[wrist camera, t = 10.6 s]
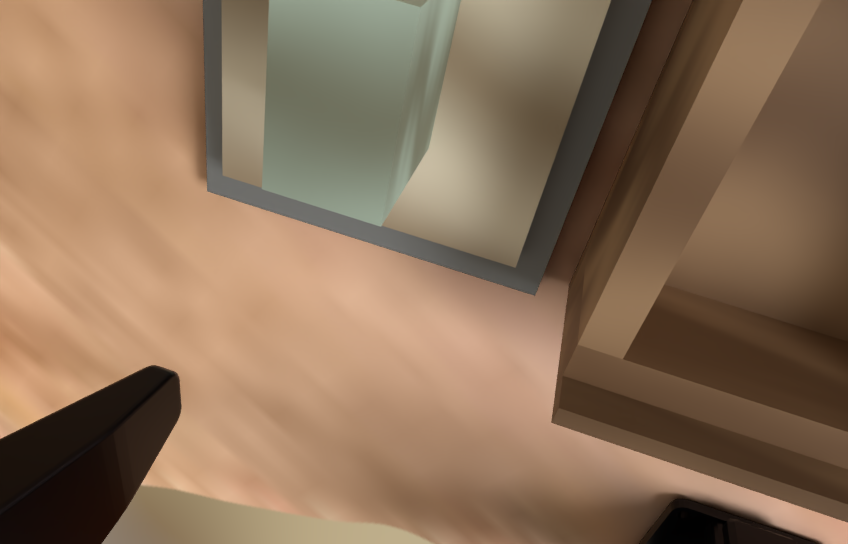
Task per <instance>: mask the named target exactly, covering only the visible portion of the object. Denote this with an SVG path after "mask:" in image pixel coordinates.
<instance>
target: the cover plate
mask: <svg viewBox="0 0 848 544" xmlns="http://www.w3.org/2000/svg"><path fill="white" fill-rule="evenodd" d="M610 2H611V0H222V167H223V176H226V177H229V178H232V179H236V180H239V181H242V182H245V183H248V184H251V185H255V186H258V187H261V188H262V189H263V190H266V191H269V192H272V193H275V194H279V195H282V196H285V197H288V198H291V199H294V200H298V201H301V202H304V203H307V204H310V205H313V206H317V207H320V208H323V209H326V210H329V211H332V212H336V213H339V214H342V215H345V216H348V217H351V218H355V219H358V220H361V221H364V222H367V223H370V224H374V225H377V226H380V227H381V226H385V227H388V228H391V229H394V230H397V231H401V232H404V233H407V234H410V235H413V236H416V237H420V238H423V239H426V240H429V241H432V242H435V243H439V244H442V245H445V246H448V247H451V248H454V249H458V250H461V251H464V252H467V253H470V254H473V255H477V256H480V257H483V258H486V259H489V260H493V261H496V262H499V263H502V264H505V265H508V266H512V267H515V268H516V265H517V262H518V260H519V257H520V254H521V251H522V248H523V246H524V243H525V240H526V237H527V234H528V232H529V229H530V226H531V223H532V220H533V218H534V215H535V212H536V209H537V206H538V204H539V201H540V198H541V195H542V192H543V190H544V187H545V184H546V181H547V178H548V176H549V173H550V170H551V167H552V164H553V162H554V159H555V156H556V153H557V150H558V148H559V145H560V142H561V139H562V136H563V134H564V131H565V128H566V125H567V123H568V120H569V117H570V114H571V111H572V109H573V106H574V103H575V100H576V97H577V95H578V92H579V89H580V86H581V83H582V81H583V78H584V75H585V72H586V69H587V67H588V64H589V61H590V58H591V55H592V53H593V50H594V47H595V44H596V41H597V39H598V36H599V33H600V30H601V27H602V25H603V22H604V19H605V16H606V13H607V11H608V8H609V5H610Z"/></svg>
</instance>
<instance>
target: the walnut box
mask: <svg viewBox="0 0 848 544" xmlns="http://www.w3.org/2000/svg"><path fill="white" fill-rule="evenodd" d="M551 423H554V424H557V425H560V426H563V427H566V428H569V429H572V430H575V431H578V432H581V433H584V434H587V435H590V436H592V437H595V438H598V439H601V440H604V441H607V442H610V443H613V444H616V445H619V446H622V447H625V448H628V449H631V450H634V451H637V452H640V453H643V454H646V455H649V456H652V457H655V458H658V459H661V460H664V461H667V462H670V463H673V464H676V465H679V466H682V467H685V468H688V469H691V470H694V471H697V472H699V473H702V474H705V475H708V476H711V477H714V478H717V479H720V480H723V481H726V482H729V483H732V484H735V485H738V486H741V487H744V488H747V489H750V490H753V491H756V492H759V493H762V494H765V495H768V496H771V497H774V498H777V499H780V500H783V501H786V502H789V503H792V504H795V505H798V506H801V507H804V508H806V509H809V510H812V511H815V512H818V513H821V514H824V515H827V516H830V517H833V518H836V519H839V520H842V521H845V522H848V0H693V1H692V3H691V6H690V8H689V10H688V13H687V15H686V17H685V20H684V22H683V24H682V26H681V29H680V31H679V33H678V36H677V38H676V40H675V43H674V45H673V47H672V49H671V52H670V54H669V56H668V59H667V61H666V63H665V66H664V68H663V70H662V73H661V75H660V77H659V79H658V82H657V84H656V86H655V89H654V91H653V93H652V96H651V98H650V100H649V102H648V105H647V107H646V109H645V112H644V114H643V116H642V119H641V121H640V123H639V125H638V128H637V130H636V132H635V135H634V137H633V139H632V142H631V144H630V146H629V149H628V151H627V153H626V155H625V158H624V160H623V162H622V165H621V167H620V169H619V172H618V174H617V176H616V178H615V181H614V183H613V185H612V188H611V190H610V192H609V195H608V197H607V199H606V202H605V204H604V206H603V208H602V211H601V213H600V215H599V218H598V220H597V222H596V225H595V227H594V229H593V231H592V234H591V236H590V238H589V241H588V243H587V245H586V248H585V250H584V252H583V254H582V257H581V259H580V261H579V264H578V266H577V268H576V271H575V273H574V275H573V278H572V280H571V282H570V284H569V290H568V298H567V305H566V313H565V321H564V329H563V337H562V344H561V352H560V360H559V368H558V375H557V383H556V391H555V399H554V407H553V414H552V422H551Z"/></svg>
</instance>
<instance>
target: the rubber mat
mask: <svg viewBox="0 0 848 544" xmlns="http://www.w3.org/2000/svg"><path fill="white" fill-rule="evenodd" d="M651 1H652V0H611V2H610V5H609V8H608V11H607V13H606V16H605V19H604V22H603V25H602V27H601V30H600V33H599V36H598V39H597V41H596V44H595V47H594V50H593V53H592V55H591V58H590V61H589V64H588V67H587V69H586V72H585V75H584V78H583V81H582V83H581V86H580V89H579V92H578V95H577V97H576V100H575V103H574V106H573V109H572V111H571V114H570V117H569V120H568V123H567V125H566V128H565V131H564V134H563V136H562V139H561V142H560V145H559V148H558V150H557V153H556V156H555V159H554V162H553V164H552V167H551V170H550V173H549V176H548V178H547V181H546V184H545V187H544V190H543V192H542V195H541V198H540V201H539V204H538V206H537V209H536V212H535V215H534V218H533V220H532V223H531V226H530V229H529V232H528V234H527V237H526V240H525V243H524V246H523V248H522V251H521V254H520V257H519V260H518V262H517V265H516V268H515V267H512V266H508V265H505V264H502V263H499V262H496V261H493V260H489V259H486V258H483V257H480V256H477V255H473V254H470V253H467V252H464V251H461V250H458V249H454V248H451V247H448V246H445V245H442V244H439V243H435V242H432V241H429V240H426V239H423V238H420V237H416V236H413V235H410V234H407V233H404V232H401V231H397V230H394V229H391V228H388V227H385V226H381V227H380V226H377V225H374V224H370V223H367V222H364V221H361V220H358V219H355V218H351V217H348V216H345V215H342V214H339V213H336V212H332V211H329V210H326V209H323V208H320V207H317V206H313V205H310V204H307V203H304V202H301V201H298V200H294V199H291V198H288V197H285V196H282V195H279V194H275V193H272V192H269V191H266V190H263V189H262V188H261V187H258V186H255V185H251V184H248V183H245V182H242V181H239V180H236V179H232V178H229V177H226V176H223V167H222V0H203V27H204V70H205V114H206V157H207V191H208V192H211V193H214V194H217V195H221V196H224V197H227V198H230V199H233V200H236V201H239V202H243V203H246V204H249V205H252V206H255V207H258V208H261V209H264V210H268V211H271V212H274V213H277V214H280V215H283V216H286V217H290V218H293V219H296V220H299V221H302V222H305V223H308V224H312V225H315V226H318V227H321V228H324V229H327V230H330V231H334V232H337V233H340V234H343V235H346V236H349V237H352V238H355V239H359V240H362V241H365V242H368V243H371V244H374V245H377V246H381V247H384V248H387V249H390V250H393V251H396V252H399V253H403V254H406V255H409V256H412V257H415V258H418V259H421V260H425V261H428V262H431V263H434V264H437V265H440V266H443V267H447V268H450V269H453V270H456V271H459V272H462V273H465V274H468V275H472V276H475V277H478V278H481V279H484V280H487V281H490V282H494V283H497V284H500V285H503V286H506V287H509V288H512V289H516V290H519V291H522V292H525V293H528V294H531V295H534V296H535V294H536V292H537V289H538V287H539V284H540V282H541V279H542V277H543V274H544V272H545V269H546V267H547V264H548V262H549V259H550V257H551V254H552V251H553V249H554V246H555V244H556V241H557V239H558V236H559V234H560V231H561V229H562V226H563V224H564V221H565V219H566V216H567V214H568V211H569V209H570V206H571V203H572V201H573V198H574V196H575V193H576V191H577V188H578V186H579V183H580V181H581V178H582V176H583V173H584V171H585V168H586V166H587V163H588V161H589V158H590V155H591V153H592V150H593V148H594V145H595V143H596V140H597V138H598V135H599V133H600V130H601V128H602V125H603V123H604V120H605V118H606V115H607V113H608V110H609V108H610V105H611V102H612V100H613V97H614V95H615V92H616V90H617V87H618V85H619V82H620V80H621V77H622V75H623V72H624V70H625V67H626V65H627V62H628V60H629V57H630V54H631V52H632V49H633V47H634V44H635V42H636V39H637V37H638V34H639V32H640V29H641V27H642V24H643V22H644V19H645V17H646V14H647V12H648V9H649V6H650V4H651Z"/></svg>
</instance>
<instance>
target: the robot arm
mask: <svg viewBox="0 0 848 544" xmlns="http://www.w3.org/2000/svg"><path fill="white" fill-rule="evenodd" d="M180 413H181V393H180V380H179V376H178V374H177V373H176V372H174V371H172V370H169V369H166V368H163V367H160V366H156V365H152V366H148V367H146V368H144V369H142V370H140V371H137V372H135V373H133V374H131V375H129V376H127V377H125V378H123V379H121V380H119V381H117V382H115V383H113V384H111V385H109V386H107V387H105V388H103V389H101V390H99V391H97V392H95V393H93V394H91V395H89V396H87V397H85V398H83V399H81V400H79V401H77V402H74V403H72V404H70V405H68V406H66V407H64V408H62V409H60V410H58V411H56V412H54V413H52V414H50V415H48V416H46V417H44V418H42V419H40V420H38V421H36V422H34V423H32V424H30V425H28V426H26V427H24V428H22V429H20V430H18V431H16V432H14V433H11V434H9V435H7V436H5V437H3V438H1V439H0V544H102V542H103V541H104V539H105V538H106V537H107V535H108V534H109V533H110V531H111V530H112V528H113V527H114V526H115V524H116V523H117V522H118V520H119V519H120V517H121V516H122V514H123V513H124V511H125V510H126V508H127V507H128V505H129V504H130V502H131V500H132V499H133V497H134V495H135V494H136V492H137V490H138V489H139V487H140V485H141V483H142V482H143V480H144V478H145V476H146V475H147V473H148V471H149V470H150V468H151V466H152V464H153V463H154V461H155V459H156V457H157V456H158V454H159V452H160V450H161V449H162V447H163V445H164V444H165V442H166V440H167V438H168V437H169V435H170V433H171V431H172V430H173V428H174V426H175V424H176V423H177V421H178V418H179V416H180ZM639 544H816V543H813V542H810V541H807V540H804V539H801V538H798V537H795V536H793V535H790V534H787V533H784V532H781V531H778V530H775V529H772V528H769V527H766V526H763V525H760V524H757V523H754V522H751V521H749V520H746V519H743V518H740V517H737V516H734V515H731V514H728V513H725V512H722V511H719V510H716V509H713V508H710V507H707V506H705V505H702V504H699V503H696V502H693V501H690V500H686V499H677V500H674V501H673V502H671V503H670V505H669V506H668V507H667V509H666V510H665V511H664V512H663V514H662V515H661V516H660V517H659V519H658V520H657V521H656V523H655V524H654V525H653V526H652V528H651V529H650V530H649V532H648V533H647V534H646V535H645V537H644V538H643V539H642V541H641V542H640V543H639Z"/></svg>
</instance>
